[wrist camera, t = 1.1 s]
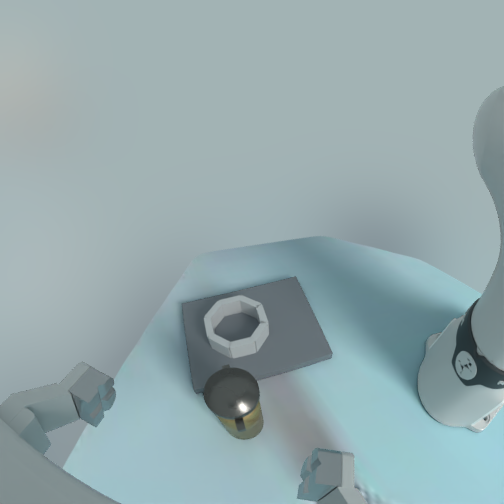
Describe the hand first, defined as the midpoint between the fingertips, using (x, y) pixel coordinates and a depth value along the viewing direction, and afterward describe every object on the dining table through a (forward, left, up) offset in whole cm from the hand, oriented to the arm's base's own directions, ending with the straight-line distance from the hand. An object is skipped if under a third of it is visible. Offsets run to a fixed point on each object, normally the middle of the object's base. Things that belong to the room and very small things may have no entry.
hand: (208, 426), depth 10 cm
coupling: (0, -8, -28) cm, 29 cm away
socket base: (-5, -22, -28) cm, 36 cm away
